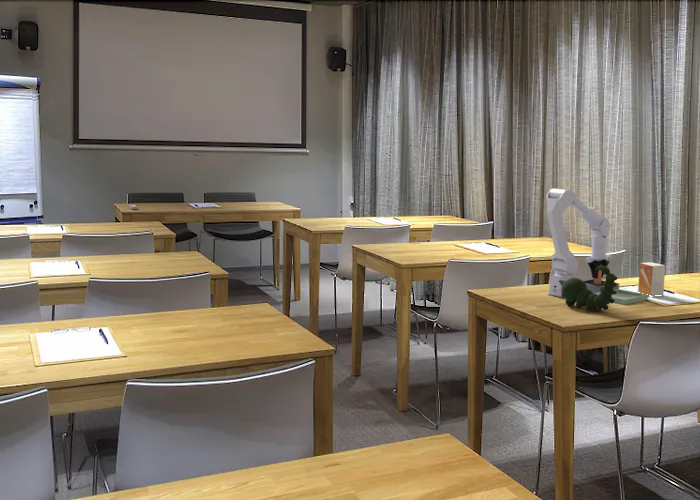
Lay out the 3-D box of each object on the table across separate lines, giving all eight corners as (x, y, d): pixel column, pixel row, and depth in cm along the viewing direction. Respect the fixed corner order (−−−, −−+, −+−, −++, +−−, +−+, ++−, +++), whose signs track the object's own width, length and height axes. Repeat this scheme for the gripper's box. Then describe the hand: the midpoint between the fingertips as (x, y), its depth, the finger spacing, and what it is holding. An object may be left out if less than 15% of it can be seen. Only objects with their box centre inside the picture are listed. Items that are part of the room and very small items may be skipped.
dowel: (598, 284, 307) (599, 265, 306) (592, 283, 309) (593, 264, 308) (602, 283, 309) (603, 265, 307) (596, 282, 311) (597, 264, 310)
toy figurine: (617, 317, 270) (564, 299, 290) (624, 268, 265) (570, 253, 286) (601, 320, 264) (548, 302, 285) (608, 270, 260) (553, 255, 280)
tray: (624, 304, 283) (624, 299, 283) (593, 298, 294) (594, 293, 294) (648, 299, 292) (648, 294, 292) (618, 293, 303) (618, 289, 303)
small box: (637, 293, 304) (639, 262, 302) (650, 292, 306) (652, 261, 304) (650, 297, 296) (652, 265, 294) (663, 296, 298) (665, 265, 296)
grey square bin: (600, 294, 301) (600, 286, 300) (575, 289, 311) (575, 281, 310) (618, 291, 308) (619, 283, 307) (593, 286, 318) (594, 278, 318)
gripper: (596, 248, 299) (594, 281, 301) (618, 245, 307) (616, 277, 309) (582, 246, 305) (580, 278, 307) (603, 243, 313) (602, 274, 315)
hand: (597, 277), depth 309 cm, fingers closed on dowel, 3 cm apart
